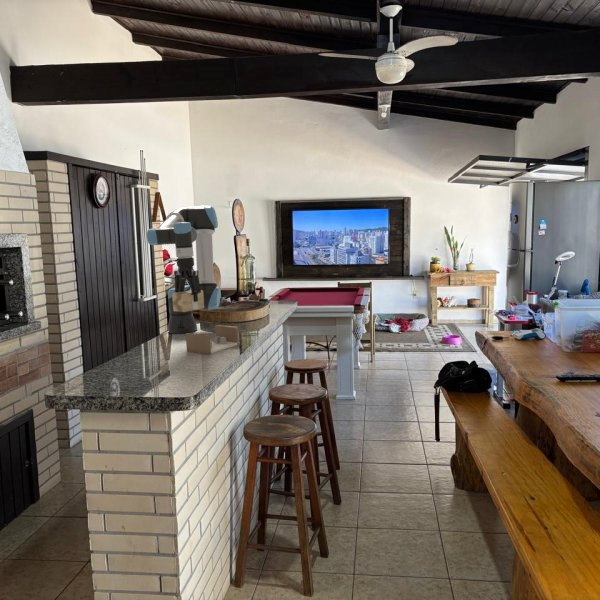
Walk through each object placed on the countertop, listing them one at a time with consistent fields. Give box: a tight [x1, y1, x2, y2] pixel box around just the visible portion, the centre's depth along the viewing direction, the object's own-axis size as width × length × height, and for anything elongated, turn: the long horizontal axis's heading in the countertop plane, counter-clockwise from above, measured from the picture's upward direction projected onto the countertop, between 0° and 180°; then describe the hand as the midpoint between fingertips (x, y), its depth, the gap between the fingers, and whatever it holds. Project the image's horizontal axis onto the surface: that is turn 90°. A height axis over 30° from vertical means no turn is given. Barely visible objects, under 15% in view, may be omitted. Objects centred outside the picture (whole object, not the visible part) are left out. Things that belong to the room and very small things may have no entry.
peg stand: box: [185, 324, 240, 355], centre depth 252 cm, size 13×20×8 cm, turn 145°
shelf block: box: [172, 290, 204, 312], centre depth 254 cm, size 7×12×8 cm, turn 143°
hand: (189, 308), depth 254 cm, fingers closed on shelf block, 7 cm apart
